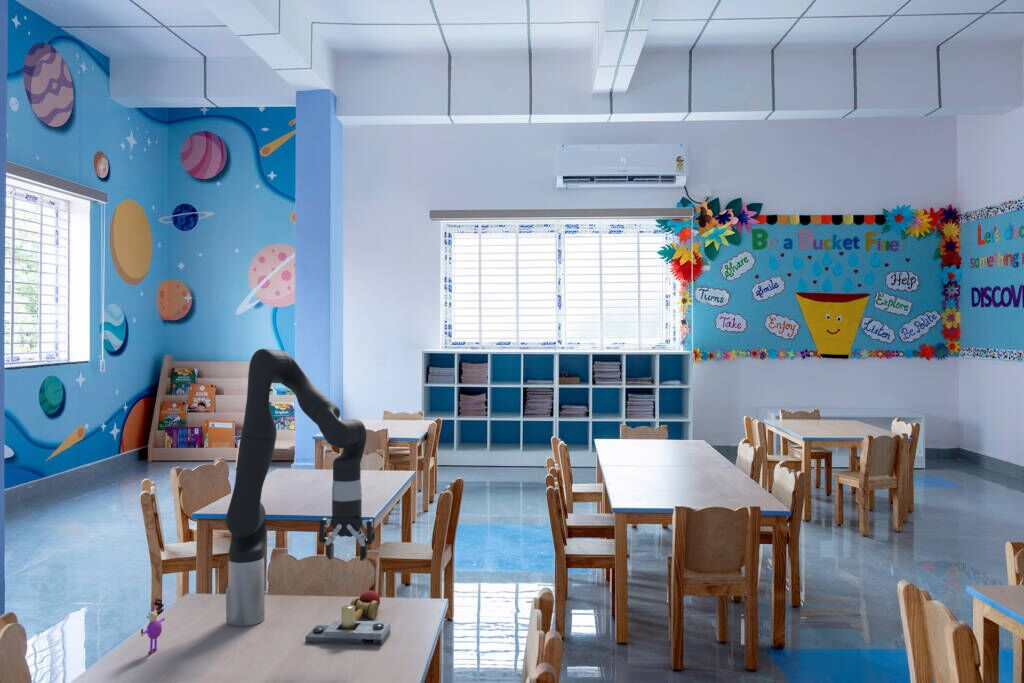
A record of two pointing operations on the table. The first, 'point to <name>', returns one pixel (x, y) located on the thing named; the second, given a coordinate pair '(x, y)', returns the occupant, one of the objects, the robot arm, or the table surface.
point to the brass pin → (348, 617)
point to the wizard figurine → (153, 627)
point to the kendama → (366, 604)
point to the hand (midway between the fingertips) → (346, 559)
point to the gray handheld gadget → (350, 633)
